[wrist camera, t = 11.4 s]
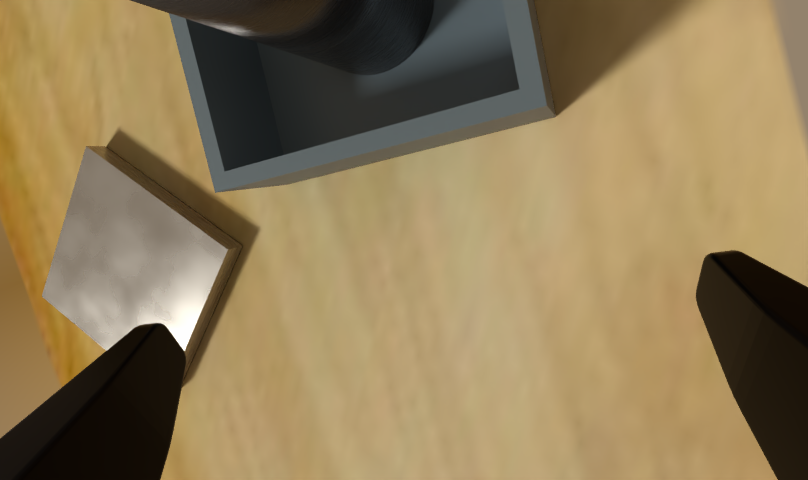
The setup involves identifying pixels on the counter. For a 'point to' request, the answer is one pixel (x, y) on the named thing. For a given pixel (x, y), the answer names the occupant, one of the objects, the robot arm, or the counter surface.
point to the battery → (319, 27)
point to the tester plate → (136, 257)
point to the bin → (361, 95)
